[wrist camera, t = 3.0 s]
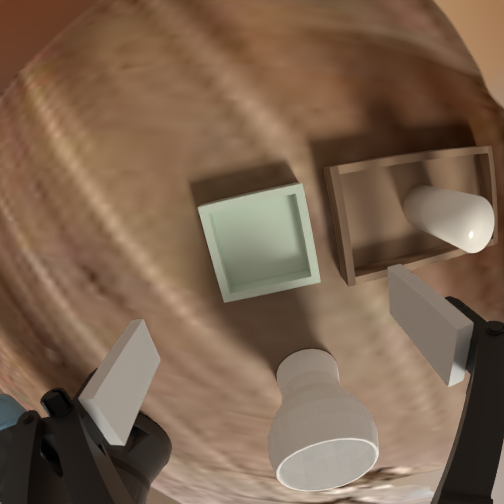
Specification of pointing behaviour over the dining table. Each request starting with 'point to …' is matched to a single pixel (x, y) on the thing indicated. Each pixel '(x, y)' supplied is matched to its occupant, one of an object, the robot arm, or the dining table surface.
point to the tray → (399, 207)
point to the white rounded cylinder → (450, 216)
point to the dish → (261, 241)
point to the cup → (319, 426)
